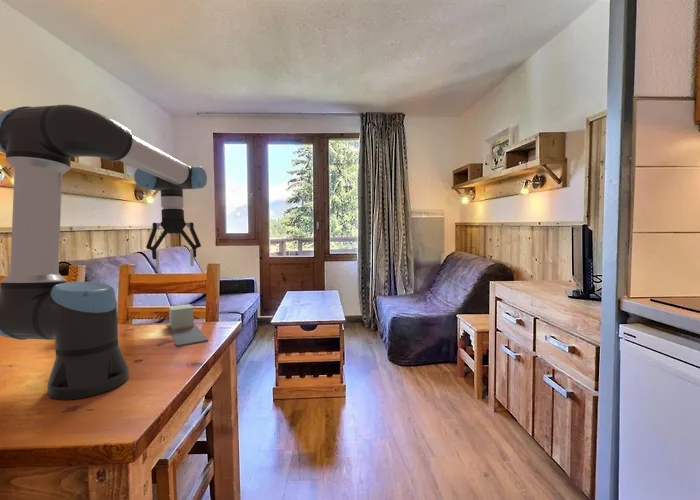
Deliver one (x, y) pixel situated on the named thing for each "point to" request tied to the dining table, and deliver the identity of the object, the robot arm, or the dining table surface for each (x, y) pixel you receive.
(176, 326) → the block
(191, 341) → the mat
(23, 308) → the robot arm
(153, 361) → the dining table surface
